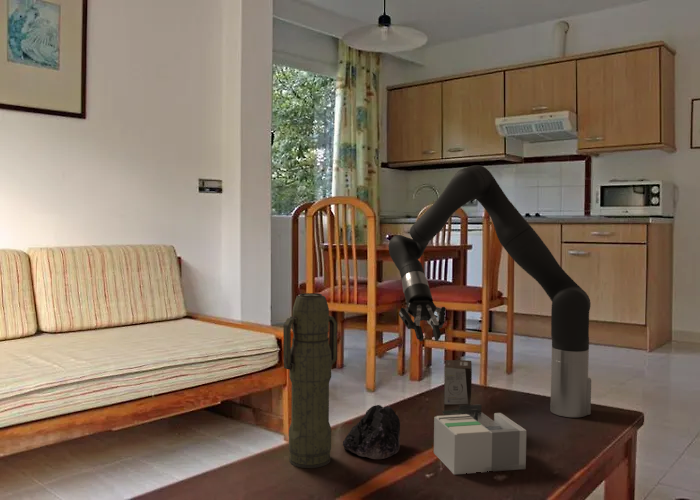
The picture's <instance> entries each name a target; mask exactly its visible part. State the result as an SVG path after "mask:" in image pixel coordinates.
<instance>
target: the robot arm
mask: <svg viewBox="0 0 700 500" xmlns="http://www.w3.org/2000/svg"><path fill="white" fill-rule="evenodd" d="M448 182H449V183H447V184H446V185H447V186H446V187H445V188H444V190H443V191H442V193H441V194H440V195H439V197H437V199H436V200H435V201H434V202H433V204H432V205H431V206H430V207H429V208H428V209H427V210H426V211H425V212H424V213H423V214H422V215H421V216H420V217H418V219H417V220H416V221H415V222H414V224H412V225H411V227H410V229H409V235H410V237H411V238H410V237H408V236H405V235H399V234H398V235H394V236H392V237H391V238H390V241H389V243H388V253H389V256H390V258H391V260H392V262H393V264H394V265H395V267H396V268H397V269H398V272H399V274H400V279H401V282H402V283H401V284H402V292H403V294H404V298H405V302H406V306H407V307H401V308H400V310H399V312H398V316H399V317H400V319H401V320H402V322H403V323H404V325H405V326H406V328H407V329H409V330H411V329H412V330H413V331H414V334H415V337H416V339H417V340H419V342H423V340H424V338H425V337H424V333H423V329H422V326H421V321H425V322H427V324H428V325H430V326H431V329H432V334H433V337H434V340H435V342H439V340H440V338H441V336H442V333H441V329H442V328H443V326H444V324H445V322H446V320H445V319H446V309H447V308H446V307H445V306H441V307H437V306H436V304H435V303H434V300H433V295H432V292H431V289H430V285H429V282H428V279H427V277H426V275H425V272H424V267H423V264H422V263H421V261H420V258H422V256H423V254H424V252H425V250H426V248H427V246H428V245H429V243H430V241H432V240H433V238H435V237H436V236H437V235H438V234H439V233H440V232H441V231H442V229H443V228H444V227H445V225H446V224H447V222H448V221H449V220H450V218H451V217H452V215H453V214H455V212H457V210H459V209H460V208H461V207H463V206H464V205H466V204H468V203H469V202H471V201H477V202H478V203H479V204H480V205H481V206H482V207H483V209H485V211H486V212H487V214H488V215H489V217H490V219H491V221H492V224H493V227H494V231H495V234H496V236H497V239H498V241H499V243H500V245H501V246H502V247H503V249H504V250H505V251H506V253H507V254H508V255H509V256H510V257H511V259H513V261H514V262H515V263H516V265H518V266H519V267H520V268H521V269H522V270H523V271H524V272H526V273H527V274H528V275H529V276H530V277H532V279H534V280H535V281H536V282H537V283H538V284H539V285H540V287H542V289H543V291H544V292H545V293H546V295H547V296H548V298H549V300H550V301H551V310H550V311H551V317H550V319H551V323H550V324H551V325H550V335H551V337H550V338H551V365H550V366H551V368H550V369H551V373H550V375H551V376H550V403H549V404H550V405H549V406H550V409H549V410H550V412H551V413H552V414H554V415H556V416H560V417H566V418H582V417H583V418H584V417H586V416H589V415H591V411H592V410H591V409H592V408H591V407H592V406H591V405H592V401H591V400H592V378H590V377H589V354H590V353H589V352H590V350H589V348H590V335H589V333H590V330H589V329H590V327H589V326H590V309H591V303H592V302H591V300H590V297H589V294H587V292H586V291H585V290H584V289H582V287H581V286H580V285H579V284H577V282H576V281H574V279H573V278H572V277H570V275H569V274H568V273H566V270H564V269H563V268H562V266H561V265H560V264H559V262H558V260H557V259H556V258H555V256H554V255H553V253H552V252H551V250H550V249H549V248H548V246H547V245H546V244H545V242H544V240H543V239H542V238H541V237H540V235H539V234H538V233H537V231H535V229H534V228H533V227H532V225H530V224H529V223H528V221H527V220H526V219H525V218H524V217H523V215H522V214H521V213H520V211H519V210H518V209H517V208H516V207H515V205H514V204H513V203H512V202H511V201H510V199H509V198H508V197H507V195H506V193H505V191H504V190H503V189H502V188H501V186H500V184H499V183H498V181H497V180H496V178H495V177H494V175H493V174H492V172H491V171H490V170H489V169H488V168H486V167H485V166H484V165H483V166H482V165H479V164H475V165H474V164H473V165H470V166H468V167H464V168H462V169H459V170H458V171H456V173H455V174H454V175H453V177H452V178H451V180H450V181H448ZM435 313H436V315H437V316H438V319H437V316H436V315H435ZM409 314H410V315H409ZM410 316H412V317H413V320H412V317H410Z"/></svg>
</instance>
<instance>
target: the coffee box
mask: <svg viewBox="0 0 700 500" xmlns="http://www.w3.org/2000/svg"><path fill="white" fill-rule="evenodd" d="M472 367H473V366H472V360H463V359H462V360H461V359H460V360H459V359H455V360H454V359H453V360H452V359H447V360H446V361H445V365H444V383H443V385H444V386H443V387H444V390H443V391H444V394H443V395H444V396H443V411H448V410H459V405H472V390H473V389H472V381H473V378H472V376H473V375H472V374H473V372H472V371H473V370H472V369H473V368H472ZM445 415H459V413H451V414H443V416H445Z"/></svg>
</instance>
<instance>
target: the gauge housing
mask: <svg viewBox="0 0 700 500" xmlns="http://www.w3.org/2000/svg"><path fill="white" fill-rule="evenodd" d="M433 418H434V419H433V421H434V422H433V428H434V429H433V454H434V455H435V457H437V458H438V459H439V460H440V461H441V462H442V464H443V465H445V466H446V468H447V469H448V470H449V471H450V472H451V473H452V474H453V475H466V473H467V474H477V473H476V472H481V473H490V472H489V471H493V472H502V471H503V472H504V471H515V470H517V471H518V470H526V467H527V465H526V461H527V430H526V428H523V427H522V426H521V425H520V424H517V423H516V422H515V421H513V420H512V419H510V418H509V417H508V416H506V415H505V414H503V413H502V412H495V413H494V414H493V421H495V422H496V423H497V424H499V425H500V430H488V429H487V428H486V427H484V426H483V425H482V424H480V423H479V422H478V421H476V420H475V419H474V418H473V417H471V416H470V415H468V414H462V415H445V416H444V415H436V416H434V417H433ZM487 471H488V472H487Z"/></svg>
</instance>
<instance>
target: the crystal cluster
mask: <svg viewBox="0 0 700 500" xmlns="http://www.w3.org/2000/svg"><path fill="white" fill-rule="evenodd" d="M400 434H401V420H400V418H399V416H398V415H397V414H396V411H394V408H393V407H391V406H385V407H383V406H382V405H381V404H377V405H372V406H371V407H370V408H368V409H367V410H366V412H365V414H364V416H363V417H361V419H360V420H359V421H358V423H356V424H355V425H354V426H352V428H351V429H350V431H348V434H346V437H345V438H344V440H343V441H342V447H343V448H344V449H345V450H346V451H349V452H350V453H353V454H355V455H357V456H358V457H362V458H363V457H364V458H365V457H366V458H369V459H372V460H382V459H387V458H389V457H392V456H393V455H396V454H397V453H398V452H399V451H400V445H401V444H400Z"/></svg>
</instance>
